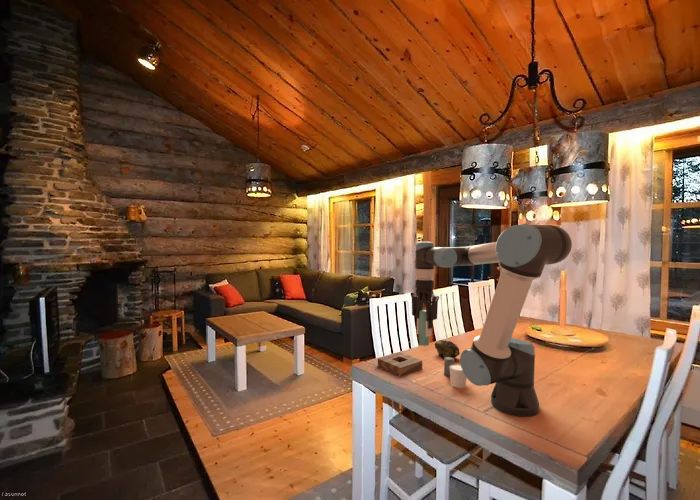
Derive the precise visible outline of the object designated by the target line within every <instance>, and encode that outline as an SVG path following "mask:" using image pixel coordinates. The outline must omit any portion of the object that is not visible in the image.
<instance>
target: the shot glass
mask: <svg viewBox="0 0 700 500" xmlns="http://www.w3.org/2000/svg"><path fill="white" fill-rule="evenodd" d="M449 378H450V385H451V386H452V387H454V388H457V389H462V388H466V385H467V378H466V376H465V375H464V373H463V370H462V368H461V364H454V365H451V366H450V377H449Z"/></svg>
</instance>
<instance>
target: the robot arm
mask: <svg viewBox="0 0 700 500" xmlns="http://www.w3.org/2000/svg"><path fill="white" fill-rule="evenodd" d="M572 246H573V243H572V238H571V236H570V234H569V233H568V231H566V230H565V229H563V228H562V227H560V226H557V225H554V224H529V223H522V224H521V223H520V224H514V225H512V226H508V227H507V228H505V229H504V230H503V231H502V232H501V233H500V235H499V236H498V238H497V240H496V241H494V242H493V241H492V242H488V243H481V244H477V245H469V246H459V247H458V246H456V247H455V246H450V247H449V246H448V247H446V246H444V247H442V246H441V247H440V246H437V247H435V243H434V242H432V241H418V242H416V243H415V250H414V253H415V271H414V272H415V278H416V279H415V285H414V287H415V291H413V292H410V297H411V315H412V317H413V316H414V317H415V325H416V334H417V335H419V311H420V310H424V309H423V307H425V310H426V313H427V320H426V337H428V336H429V337H431V336H432V329H433V326H434V325H433V324H434V323H433V322H434V321H435V320H438V306H439V299H440V296H439V295H436V294H434V293H435V292H434V288H435V286H434V285H435V284H434V283H435V280H434V277H435V267H440V268H452V267H458V266H459V267H460V266H461V267H463V266H465V267H466V266H470V267H471V266H477V265H484V264H497V263H498V266H499V267H500V270H501V273H500V275H499V278H498V283H497V284H496V288H495V291H494V294H493V297H492V300H491V302H490V306H489V308H488V310H487V311H488V312H487V315H486V318H485V321H484V324H483V327H482V330H481V332H480V334H479V335H476V336H475V337H474V339H473V341H472V344H471V347H470V348H465V349H464V350H463V351H462V352H460V355H459V356H460V357H459V363H460V364H459V365H461V368H462V370H463V373H464V375H465V376H466V380H468V381H469V382H470V383H471V384H472V385H474V386H477V387H482V386H483V387H484V386H487V387H488V386H489V385H494V386H493V389H492V392H491V394H490V403H491V405H492V406H493V407H494V408H496V409H497V410H498V411H500V412H502V413H505V414H508V415H511V416H517V417H533V416H536V415H537V414H539V412H540V402H539V398H538V396H537V392H536V390H535V362H536V361H535V359H536V352H535V346H534V345H533V344H532V342H530V341H527V340H524V339H520V338H516V337H513V335H514V331H515V328H516V326H517V323H518V321H519V318H520V316H521V313H522V310H523V307H524V305H525V302H526V301H527V300H526V299H527V297H528V294H529V291H530V288H531V287H532V283H533V281H534V280H536V279H539V278H541V276H542V274H543V271H544V268H545V267H546V265H554V264H558V263H560V262H562V261H564V260H565V259H567V257H568V256H569V255H570V253H571V251H572V248H573V247H572Z"/></svg>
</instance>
